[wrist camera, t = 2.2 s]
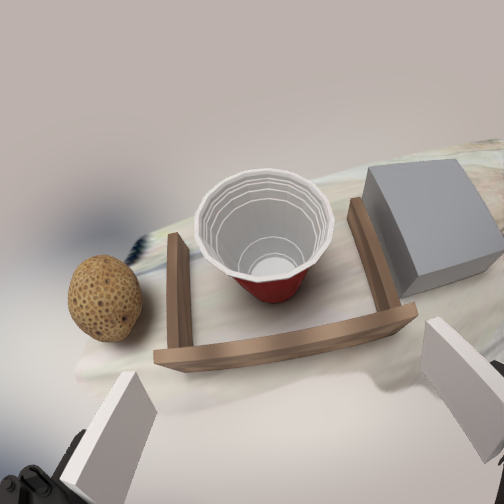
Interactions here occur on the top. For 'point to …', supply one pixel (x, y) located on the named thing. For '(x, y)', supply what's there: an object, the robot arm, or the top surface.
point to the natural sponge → (104, 298)
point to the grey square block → (430, 223)
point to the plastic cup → (264, 230)
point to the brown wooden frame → (286, 344)
